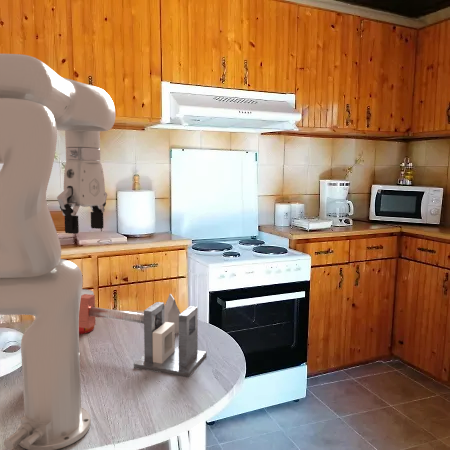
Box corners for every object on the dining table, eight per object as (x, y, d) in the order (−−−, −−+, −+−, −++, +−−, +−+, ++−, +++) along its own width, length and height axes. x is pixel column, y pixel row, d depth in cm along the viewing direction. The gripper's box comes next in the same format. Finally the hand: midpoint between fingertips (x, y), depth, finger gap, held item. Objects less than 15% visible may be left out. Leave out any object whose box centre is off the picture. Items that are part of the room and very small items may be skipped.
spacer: (161, 363, 102) (161, 333, 101) (152, 362, 103) (152, 332, 102) (174, 350, 109) (174, 323, 108) (166, 349, 110) (165, 321, 109)
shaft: (151, 337, 105) (151, 306, 103) (78, 327, 111) (77, 297, 110) (157, 333, 107) (157, 302, 106) (85, 323, 114) (84, 293, 113)
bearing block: (188, 377, 98) (188, 320, 96) (133, 367, 102) (133, 313, 100) (206, 355, 109) (206, 304, 107) (156, 347, 113) (156, 298, 111)
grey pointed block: (167, 334, 122) (167, 300, 121) (164, 326, 129) (163, 293, 127) (180, 333, 123) (180, 299, 122) (176, 324, 130) (176, 292, 128)
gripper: (73, 154, 89) (75, 236, 91) (117, 158, 105) (118, 227, 107) (43, 154, 91) (46, 234, 93) (91, 158, 107) (93, 226, 109)
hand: (85, 230), depth 100 cm, fingers open, 9 cm apart
